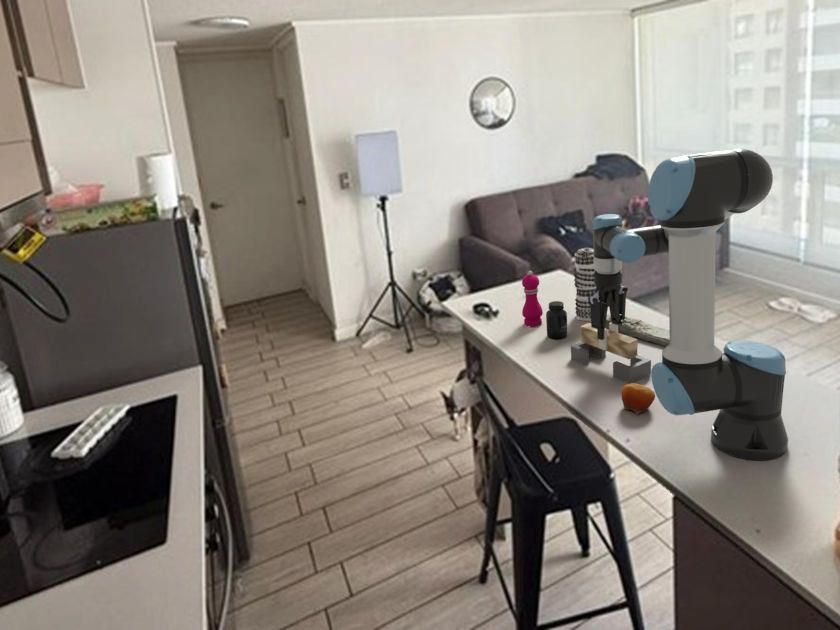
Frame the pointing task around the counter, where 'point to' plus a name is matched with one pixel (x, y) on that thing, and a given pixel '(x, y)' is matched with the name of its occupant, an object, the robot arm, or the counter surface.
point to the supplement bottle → (556, 321)
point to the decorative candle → (584, 282)
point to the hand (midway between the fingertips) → (608, 346)
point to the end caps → (623, 372)
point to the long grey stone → (642, 331)
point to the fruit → (637, 397)
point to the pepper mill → (531, 301)
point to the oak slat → (611, 341)
